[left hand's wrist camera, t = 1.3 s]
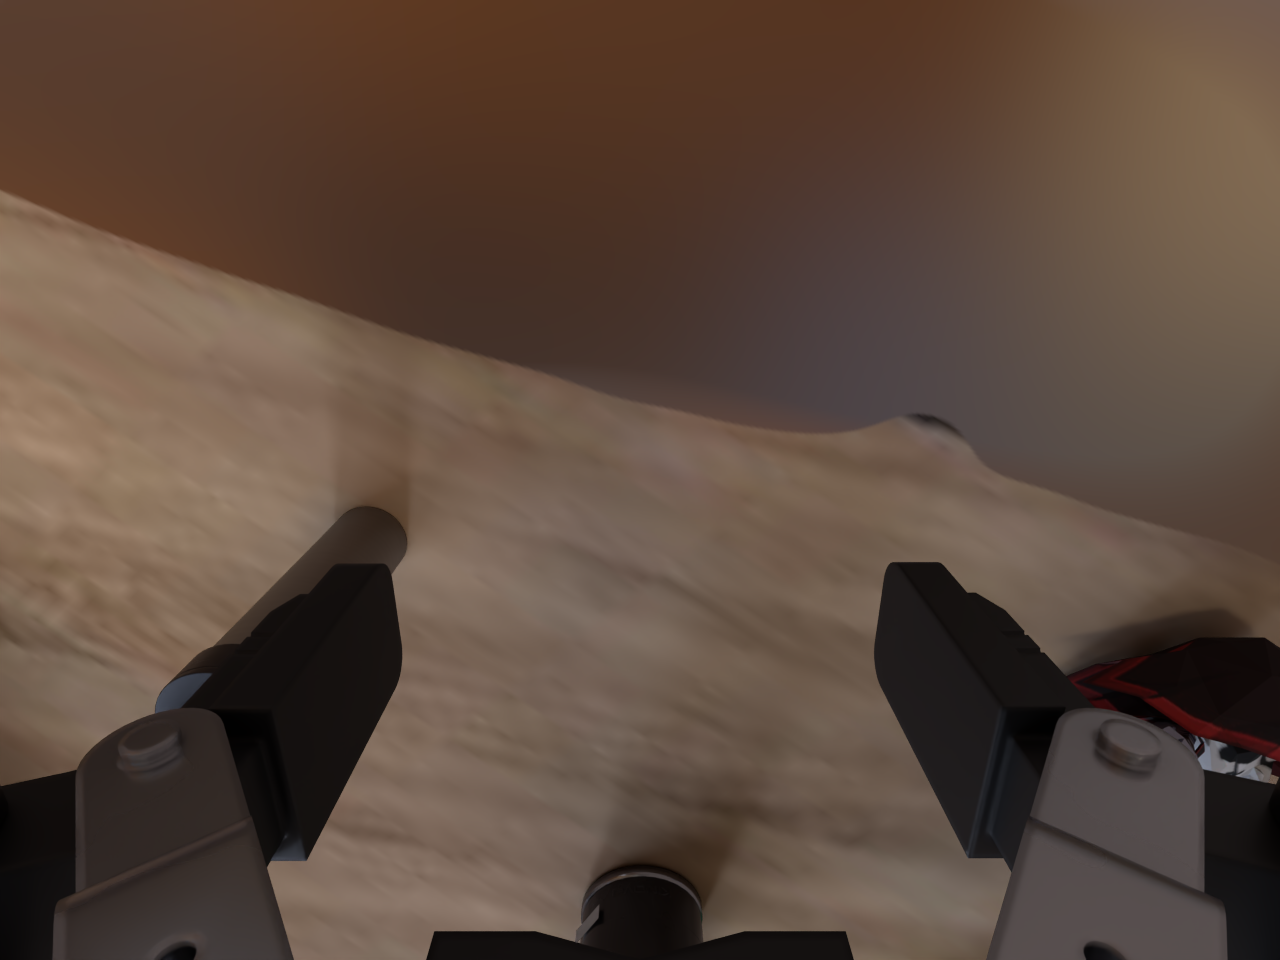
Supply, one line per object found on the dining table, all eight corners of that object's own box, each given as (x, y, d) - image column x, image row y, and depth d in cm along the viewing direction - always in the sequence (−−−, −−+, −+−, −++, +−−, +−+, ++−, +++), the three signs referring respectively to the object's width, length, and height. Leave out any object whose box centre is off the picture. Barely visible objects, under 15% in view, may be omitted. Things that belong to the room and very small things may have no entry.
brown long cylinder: (329, 506, 42) (155, 670, 27) (402, 506, 42) (269, 670, 27) (340, 571, 44) (182, 760, 29) (411, 571, 44) (290, 760, 29)
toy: (1159, 867, 36) (1449, 780, 35) (1068, 684, 39) (1332, 601, 38) (1059, 829, 47) (1278, 763, 46) (996, 690, 50) (1199, 626, 50)
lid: (172, 643, 29) (140, 672, 27) (292, 642, 29) (268, 672, 27) (200, 739, 30) (171, 773, 28) (313, 738, 30) (292, 772, 28)
